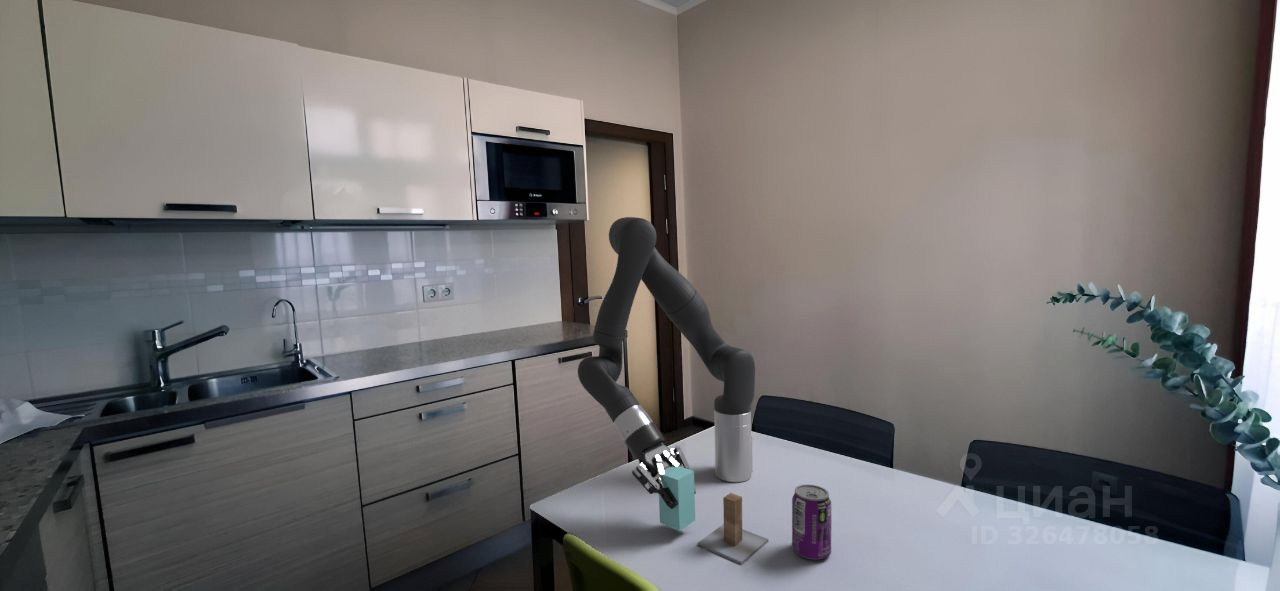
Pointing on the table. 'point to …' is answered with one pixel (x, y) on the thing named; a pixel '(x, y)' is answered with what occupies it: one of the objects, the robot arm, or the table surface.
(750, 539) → the post
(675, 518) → the tall teal block
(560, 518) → the table surface
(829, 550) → the beverage can
